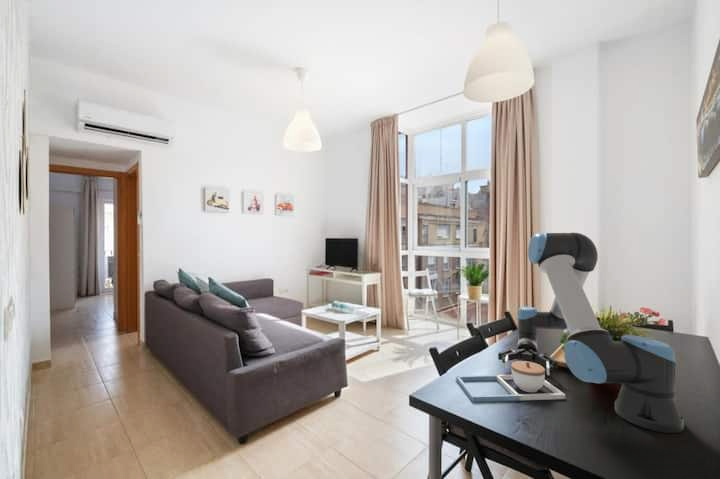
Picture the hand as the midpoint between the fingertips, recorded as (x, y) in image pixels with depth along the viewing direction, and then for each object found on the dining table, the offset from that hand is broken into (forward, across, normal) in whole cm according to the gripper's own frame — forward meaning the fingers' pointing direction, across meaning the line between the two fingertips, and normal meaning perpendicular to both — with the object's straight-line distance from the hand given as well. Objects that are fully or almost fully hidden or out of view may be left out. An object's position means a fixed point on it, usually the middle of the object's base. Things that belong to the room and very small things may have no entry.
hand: (526, 368), depth 116 cm
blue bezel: (+10, +12, -6) cm, 17 cm away
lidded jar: (+3, 0, -6) cm, 7 cm away
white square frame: (+3, 0, -6) cm, 7 cm away
